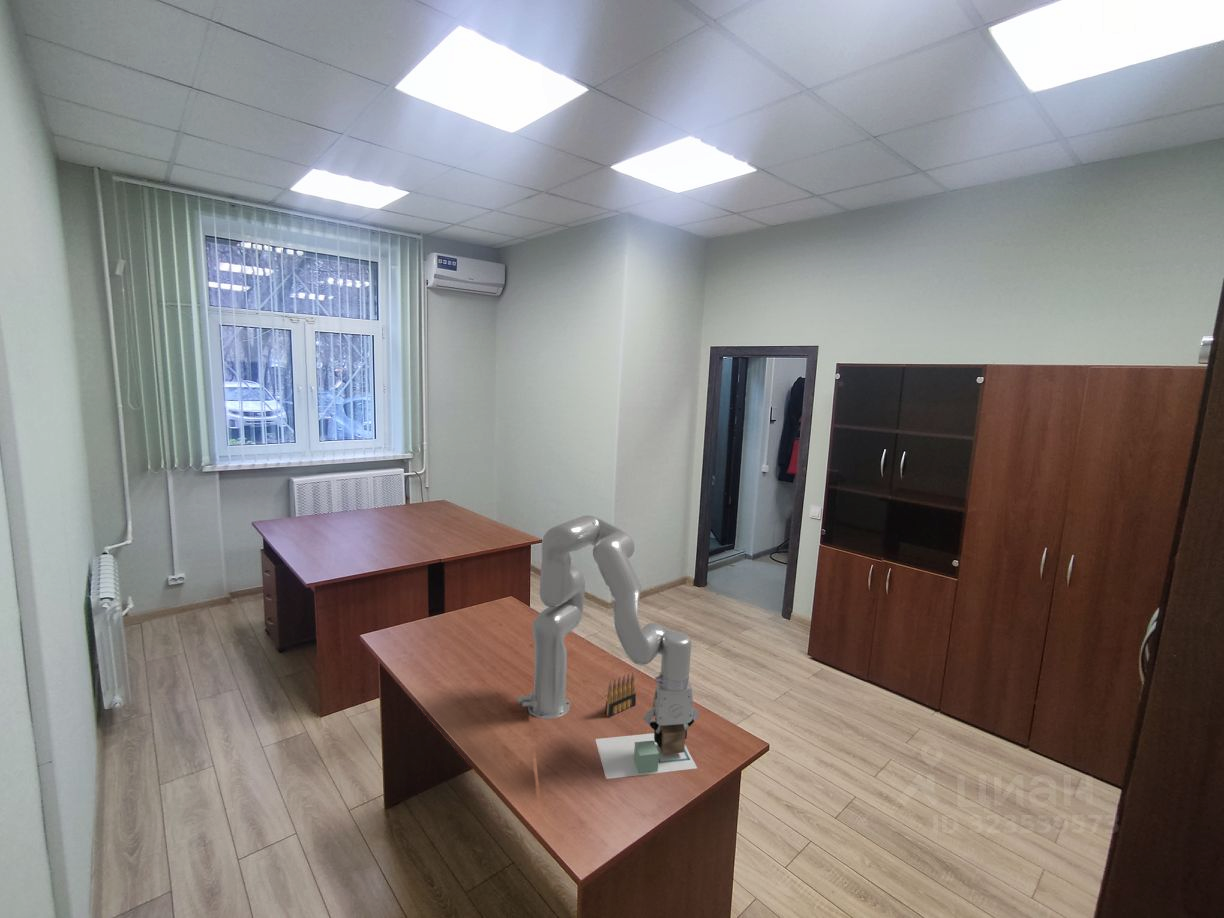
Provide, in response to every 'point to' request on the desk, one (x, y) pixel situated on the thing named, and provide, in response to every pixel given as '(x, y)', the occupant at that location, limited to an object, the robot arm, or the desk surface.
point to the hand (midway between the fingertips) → (670, 741)
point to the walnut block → (673, 739)
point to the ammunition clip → (621, 695)
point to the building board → (621, 757)
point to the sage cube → (646, 757)
